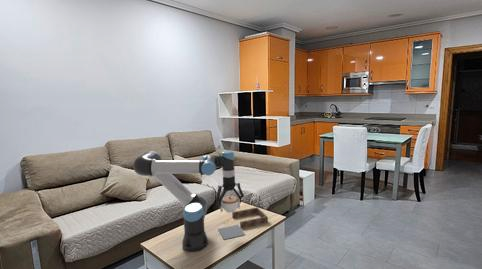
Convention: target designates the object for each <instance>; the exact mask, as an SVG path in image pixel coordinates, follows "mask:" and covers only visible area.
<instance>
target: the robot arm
mask: <svg viewBox="0 0 482 269" xmlns="http://www.w3.org/2000/svg"><path fill="white" fill-rule="evenodd" d="M132 168H133V170H134V172H135V173H136V174H137V175H138V176H143V177H146V176H147V177H150V178H154V179H156V180H157V181H158V182H159V183H160V184H161V185H162V186H164V188H165V189H166V190H168V192H170V193H171V194H172V195H173V196H174V197H175V198H176V199H177V200H178V201H179V202H180V203H181V204H182V208H183V210H182V211H183V212H182V217H183V230H184V235H183V238H182V243H181V244H182V245H181V246H182V249H184V250H185V251H187V252H191V253H192V252H199V251H203V249H205V248H207V247H208V245H209V238H208V235H207V233H206V231H205V218H206V215H207V212H208V208H209V205H208V204H209V203H208V201H207V199H206V198H205V197H204V196H199V194H197V193H196V192H195V193H194V192H192V191H190V190H189V189H188V188H187V186H185V185H184V184H183V183H182V182H181V181H180V180H179V179H178V178H177V177H176V176H175V175H177V174H178V175H179V174H180V175H181V174H183V175H186V174H187V175H188V174H189V175H191V174H203V175H205V176H212V175H213V174H214V173H215V172H216V170H217V168H222V169H221V170H222V184H221V185H220V184H218V186H217V192H216V195H215V201H216V202H217V203H218V206H219V209H220V210H219V211H220V212H221V213H223V212H224V209H223V205H222V199H223V197H225V196H226V193H228V192H229V191H233V192H234V193H235V196H236V197H238V207H237V209H238V210H241V204H242V198H245V196H244V193H243V191H242V188H241V183H240V181H239V182H238V181H237V182H236V177H235V174H236V173H235V153H234V152H233V151H231V150H224V151H222V152H221V154H218V155H217V154H214V155H213V154H210V155H209V154H206V155H203V156H202V158H201V159H197V160H196V159H194V160H193V159H191V160H190V159H188V160H186V159H185V160H179V159H178V160H177V159H176V160H174V159H173V160H162V157H161V155H160V154H159V153H158V152H156V151H153V150H151V151H146V152H144V153H143V154H141V155H140V156H137V157H136V158H135V160H134V161H133V163H132ZM173 174H174V175H173ZM235 187H237V189H236V188H235ZM237 190H238V191H237Z"/></svg>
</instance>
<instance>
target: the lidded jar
mask: <svg viewBox="0 0 482 269" xmlns="http://www.w3.org/2000/svg"><path fill="white" fill-rule="evenodd" d="M222 205H223V211H225V212H226V213H232V212H236V211H237V209H238V196H237V195H224V197H223V199H222Z"/></svg>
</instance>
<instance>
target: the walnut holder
mask: <svg viewBox="0 0 482 269" xmlns="http://www.w3.org/2000/svg"><path fill="white" fill-rule="evenodd" d="M255 214H257V215H258V216H259V217H257V218H251V219H248V220H242V221H239V227H240V228H241V229H244V228H248V227H253V226H257V225H263V224H267V223H269V222H268V221H269V217H268V215H266V214H265V213H264V211H262V210H261V209H260V208H259V207H252V208H247V209H242V210H241V209H240V210H235V211H234V212H231V215H232V216H231V217H232V219H236V218H240V217H245V216H250V215H251V216H252V215H255Z"/></svg>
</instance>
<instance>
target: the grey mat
mask: <svg viewBox="0 0 482 269" xmlns="http://www.w3.org/2000/svg"><path fill="white" fill-rule="evenodd" d="M217 231H218V233H219V234H220V237H222V239H223V240H224V241H225V240H230V239H234V238H238V237H244V236H246V234H245V232H244V231H243V229H242V228H240V225H239V224H235V225H231V226H227V227H222V228H217Z"/></svg>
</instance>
